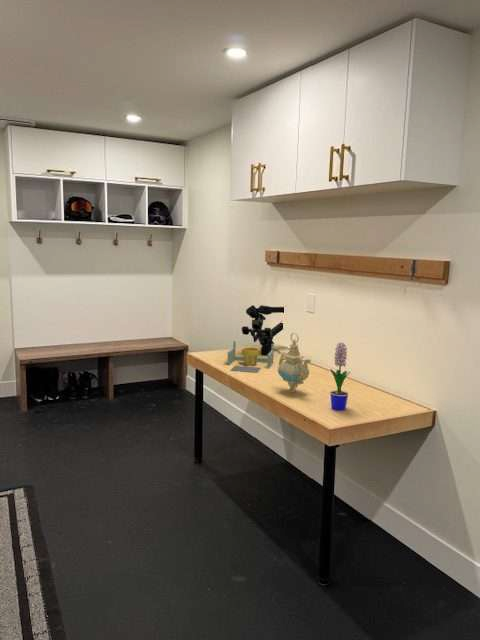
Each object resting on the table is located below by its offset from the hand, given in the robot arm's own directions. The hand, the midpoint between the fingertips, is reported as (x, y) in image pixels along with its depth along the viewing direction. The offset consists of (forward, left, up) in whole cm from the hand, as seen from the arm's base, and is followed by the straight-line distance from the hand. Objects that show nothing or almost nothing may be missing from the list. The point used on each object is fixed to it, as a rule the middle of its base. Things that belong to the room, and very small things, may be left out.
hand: (254, 342), depth 312 cm
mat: (+4, +25, -12) cm, 28 cm away
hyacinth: (-40, +91, -12) cm, 100 cm away
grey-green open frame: (+2, +11, -12) cm, 16 cm away
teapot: (-21, +67, -12) cm, 72 cm away
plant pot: (+2, +13, -12) cm, 18 cm away
